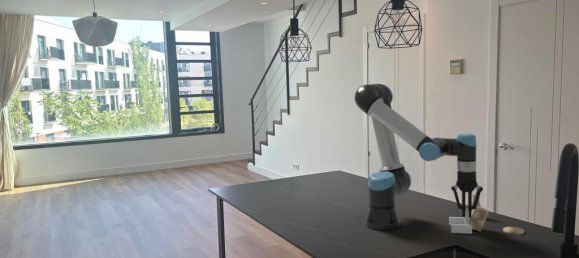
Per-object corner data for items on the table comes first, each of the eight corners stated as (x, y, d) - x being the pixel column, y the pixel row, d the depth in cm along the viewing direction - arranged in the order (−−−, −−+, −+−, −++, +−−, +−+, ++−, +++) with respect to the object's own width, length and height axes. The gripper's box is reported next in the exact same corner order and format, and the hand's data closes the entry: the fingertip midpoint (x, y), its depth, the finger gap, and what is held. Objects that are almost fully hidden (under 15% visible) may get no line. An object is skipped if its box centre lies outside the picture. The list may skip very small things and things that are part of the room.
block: (468, 227, 185) (476, 208, 184) (467, 223, 190) (474, 205, 188) (480, 231, 184) (488, 212, 183) (478, 228, 189) (486, 209, 187)
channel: (451, 232, 185) (451, 224, 184) (449, 224, 195) (449, 216, 195) (471, 233, 182) (471, 225, 182) (468, 225, 193) (468, 217, 193)
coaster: (505, 234, 180) (505, 232, 180) (501, 227, 188) (501, 226, 188) (526, 235, 178) (526, 233, 178) (521, 228, 186) (521, 227, 186)
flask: (474, 219, 200) (474, 198, 199) (464, 215, 207) (464, 194, 206) (487, 218, 202) (488, 196, 201) (477, 213, 209) (477, 193, 208)
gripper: (451, 172, 184) (451, 226, 186) (484, 172, 180) (484, 228, 182) (449, 168, 191) (450, 221, 193) (481, 169, 187) (481, 222, 189)
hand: (466, 224), depth 188 cm, fingers closed
